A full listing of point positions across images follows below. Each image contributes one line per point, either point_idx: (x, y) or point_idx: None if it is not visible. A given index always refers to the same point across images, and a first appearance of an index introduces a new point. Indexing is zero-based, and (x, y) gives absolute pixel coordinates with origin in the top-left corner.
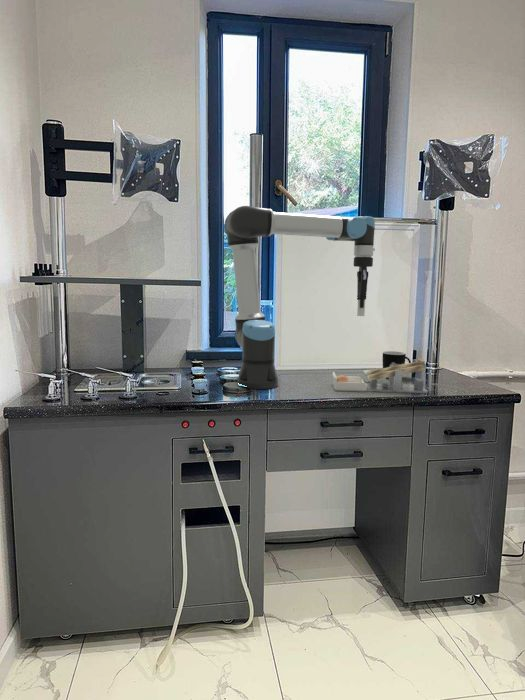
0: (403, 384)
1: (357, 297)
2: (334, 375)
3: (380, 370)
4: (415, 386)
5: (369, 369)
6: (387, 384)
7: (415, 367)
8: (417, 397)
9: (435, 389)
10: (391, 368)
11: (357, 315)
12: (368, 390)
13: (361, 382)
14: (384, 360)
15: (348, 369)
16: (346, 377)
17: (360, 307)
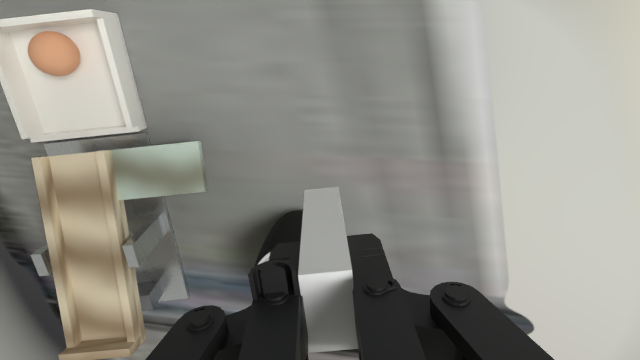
0: (171, 255)
1: (445, 283)
2: (16, 18)
3: (106, 204)
4: (138, 284)
5: (197, 166)
6: (152, 209)
7: (64, 321)
8: (35, 272)
9: (161, 327)
10: (113, 245)
11: (315, 190)
12: (45, 144)
13: (118, 126)
14: (277, 234)
15: (431, 83)
16: (44, 70)
17: (276, 249)
